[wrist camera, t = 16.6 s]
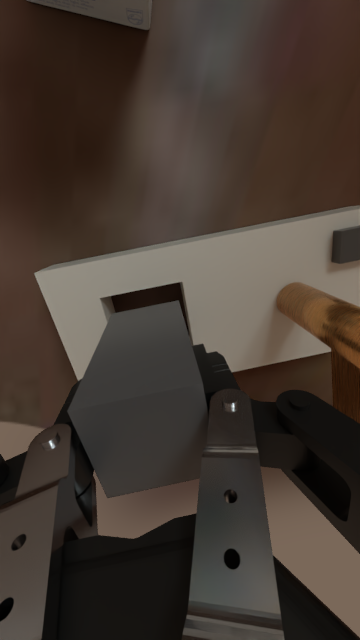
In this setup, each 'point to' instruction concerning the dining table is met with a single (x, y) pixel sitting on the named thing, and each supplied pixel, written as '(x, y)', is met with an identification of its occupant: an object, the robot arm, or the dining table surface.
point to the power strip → (216, 286)
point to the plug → (142, 402)
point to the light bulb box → (108, 10)
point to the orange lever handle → (330, 337)
